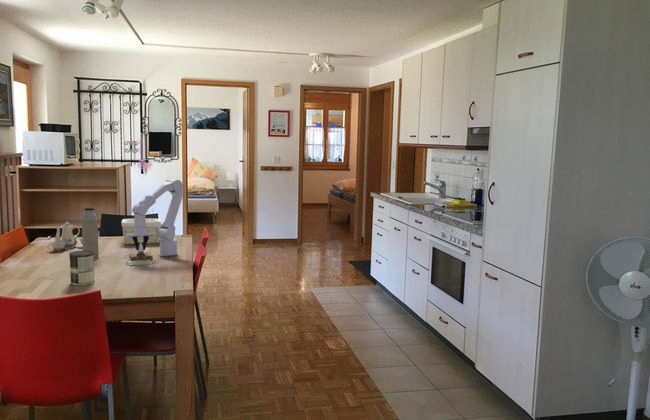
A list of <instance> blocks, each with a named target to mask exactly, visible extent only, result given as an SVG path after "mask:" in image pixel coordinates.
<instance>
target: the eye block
mask: <svg viewBox="0 0 650 420" xmlns="http://www.w3.org/2000/svg"><path fill="white" fill-rule="evenodd" d="M128 256H129V261H137V260H151V261H153V260H154V259H153V254H152V253H151V252H150V251H146V252H145V251H144V255H139V256H138V252H131V253H130V252H129V255H128Z"/></svg>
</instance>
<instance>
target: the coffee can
mask: <svg viewBox="0 0 650 420" xmlns="http://www.w3.org/2000/svg"><path fill="white" fill-rule="evenodd" d="M68 255H69V270H70V271H69V272H70V273H69V275H70V276H69V278H70V284H71V285H73V286H86V285H91V284H94V283H95V261H94V260H95V259H94V252H93V251H87V250H84V251H83V250H75V251H72V252H71V251H70V253H69V254H68Z"/></svg>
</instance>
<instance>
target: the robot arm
mask: <svg viewBox="0 0 650 420" xmlns="http://www.w3.org/2000/svg"><path fill="white" fill-rule="evenodd" d="M183 189H184V184H183V182H182V181H181V180H180V179H172V178H167V179H166V180H165V181H163V182H162V184H161V185H160V186H159V187H158V188H157V189H156V190H155V191H154V192H153V193H152V194H148V195H145V196H144V198H143V199H142V200H140V201H139V202H138V203H136V204H134V205H133V207H132V209H131V212H132V213H133V217H134V218H133V219H134V220H135V233H133V234H126V238H132V239H133V241H134V243H135V244H134V246H135V251H138V239H137V237H143V242H144V251H145V250H146V248H147V245H148V244H147V241H148V239H149V237H150V236H152V237H154V233H146V224H145V219H146V214H147V213H148V210H149V209H150V208H151V207H153V206H154V205H155V204H156V202H157V199H159V198H160V197H161V196H163V194H165V193H166V192H169V193H170V194H171V196H172V198H171V200H170V202H169V203H170V204H169V206H168V210H167V213H166V215H165V219H164V222H163V223H161V226H160V228H159V229H158V231H157V235H158V237H159V252H158V255H159V256H160V257H167V256H177V255H178V244H177V243H178V242H177V239H176V238H175V235H176V226H175V221H176V219H177V216H178V213H179V209H180V206H181V203H182V200H183V197H184V195H183Z"/></svg>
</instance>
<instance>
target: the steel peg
mask: <svg viewBox="0 0 650 420" xmlns="http://www.w3.org/2000/svg"><path fill="white" fill-rule="evenodd" d="M144 252H145V250H144V242H143V241H139V242H138V250H137V253H138V256H139V255H144Z"/></svg>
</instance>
